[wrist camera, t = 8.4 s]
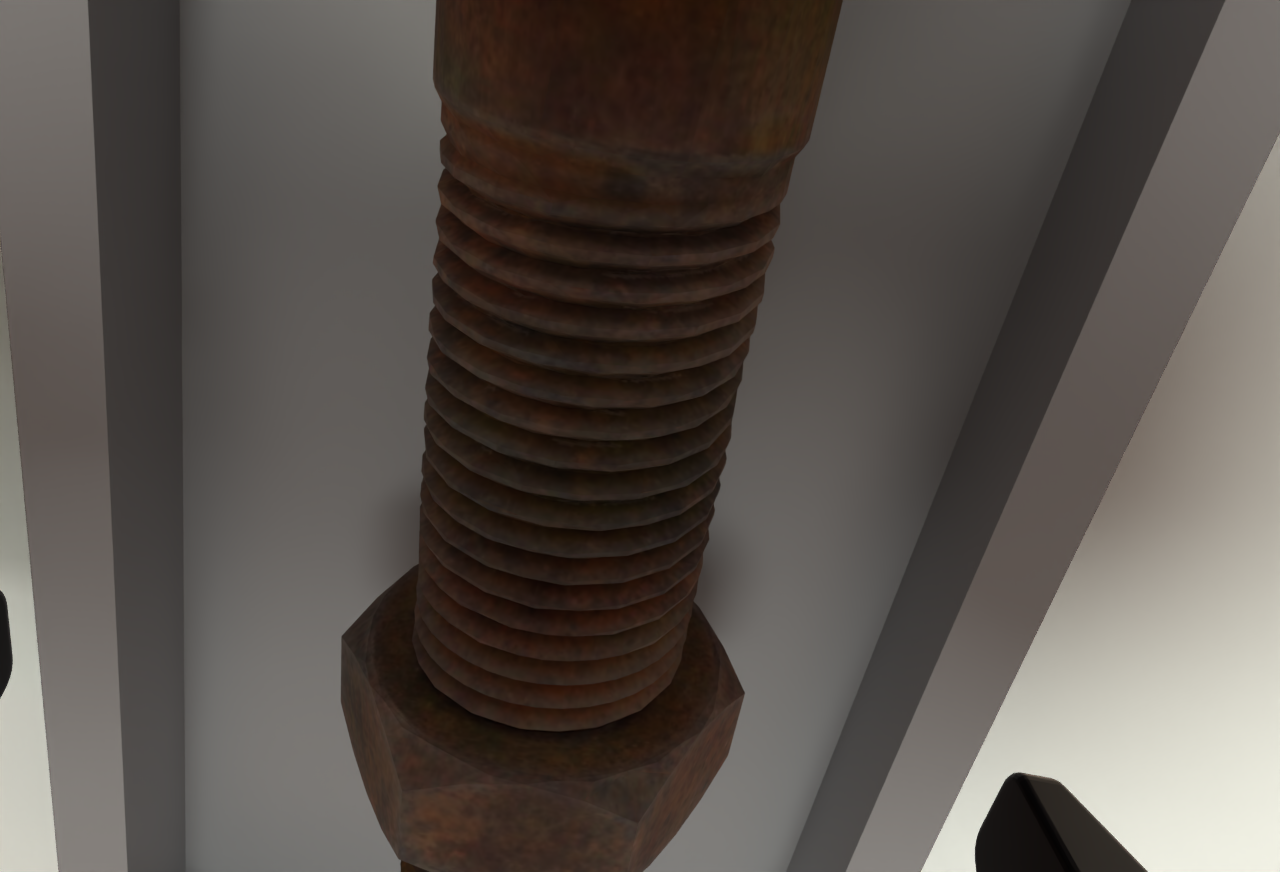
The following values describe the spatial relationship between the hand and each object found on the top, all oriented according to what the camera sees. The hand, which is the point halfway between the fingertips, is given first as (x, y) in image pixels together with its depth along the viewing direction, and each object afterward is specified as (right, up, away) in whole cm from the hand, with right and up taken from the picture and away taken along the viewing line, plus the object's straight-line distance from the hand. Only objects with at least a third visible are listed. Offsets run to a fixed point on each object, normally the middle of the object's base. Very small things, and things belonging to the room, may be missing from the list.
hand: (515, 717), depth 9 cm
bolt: (0, +3, +4) cm, 5 cm away
